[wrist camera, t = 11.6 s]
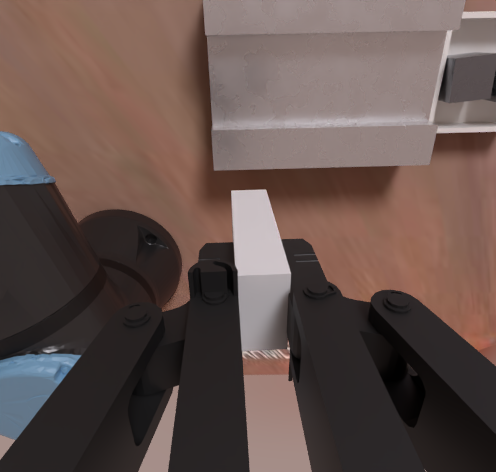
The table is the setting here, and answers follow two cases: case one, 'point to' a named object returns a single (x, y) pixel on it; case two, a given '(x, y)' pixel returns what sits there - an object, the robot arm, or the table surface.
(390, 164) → the slot block
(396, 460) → the robot arm
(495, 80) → the dark grey cube
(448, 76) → the dark gray cube
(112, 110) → the table surface
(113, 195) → the table surface
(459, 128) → the tray
